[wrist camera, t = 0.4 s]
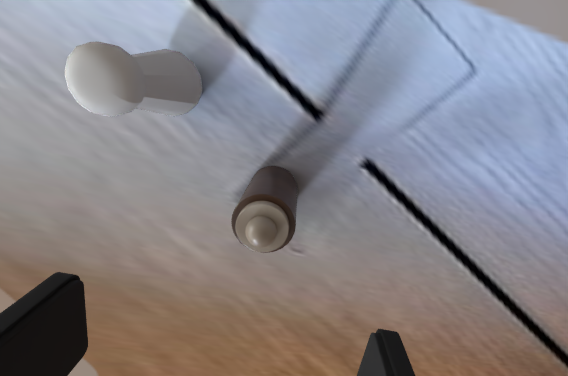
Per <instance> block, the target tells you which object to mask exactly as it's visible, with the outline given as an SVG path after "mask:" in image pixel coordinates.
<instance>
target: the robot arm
mask: <svg viewBox="0 0 568 376" xmlns="http://www.w3.org/2000/svg"><path fill="white" fill-rule="evenodd" d="M87 347H88V337H87V323H86V310H85V296H84V284H83V282H82V281H80V278H79V276H77V275H73V274H67V273H61V272H57V273H55V274H53V275H52V276H50V277H49V278H47V279H46V280H45V281H43V282H42V283H41V284H39V285H38V286H37V287H35V288H34V289H33V290H31V291H30V292H29V293H27V294H26V295H24V296H23V297H22V298H20V299H19V300H18V301H16V302H15V303H14V304H12V305H11V306H10V307H8V308H7V309H5V310H4V311H3V312H2V313H0V376H67V375H68V374H69V373H70V372H71V371H72V369H73V368H74V367H75V366H76V364H77V363H78V362H79V361H80V360H81V358H82V357H83V356H84V354H85V352H86V350H87ZM357 376H415V374H414V371H413V369H412V366H411V364H410V361H409V359H408V356H407V353H406V351H405V348H404V346H403V343H402V341H401V338H400V336H399V334H398V333H397V332H394V331H389V330H383V329H378V330H377V332H376V333H371V335H370V338H369V341H368V344H367V347H366V350H365V353H364V356H363V359H362V362H361V365H360V368H359V371H358V374H357Z"/></svg>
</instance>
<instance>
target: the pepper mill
mask: <svg viewBox="0 0 568 376" xmlns="http://www.w3.org/2000/svg"><path fill="white" fill-rule="evenodd" d="M296 208H297V183H296V180H295V178H294V177H293V175H292V174H291V173H290V172H289V171H287V170H286V169H284V168H281V167H277V166H269V167H265V168H263V169H261V170H259V171H258V172H257V173H256V174H255V175H254V176H253V178H252V180H251V182H250V183H249V185H248V187H247V189H246V190H245V192H244V194H243V196H242V197H241V199H240V201H239V202H238V204H237V206H236V208H235V210H234V212H233V214H232V221H231V222H232V229H233V232H234V234H235V236H236V238H237V239H238V240H239V242H240V243H241V244H243V245H244V246H245V247H247V248H249V249H251V250H253V251H256V252H262V253H268V252H274V251H277V250H279V249H281V248H283V247H284V246H285V245H287V244H288V243H289V241H290V240H291V239H292V237H293V235H294V232H295V226H296Z"/></svg>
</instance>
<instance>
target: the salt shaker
mask: <svg viewBox="0 0 568 376" xmlns="http://www.w3.org/2000/svg"><path fill="white" fill-rule="evenodd" d="M64 73H65V77H66V81H67V85H68V89H69V91H70V92H71V94H72V95H73V97H74V98H75V100H76V101H77V103H78V104H80V105H81V106H83V107H84V108H85V109H87V110H88V111H90V112H91V113H95V114H100V115H104V116H110V117H115V116H119V115H122V114H126V113H129V112H132V111H133V110H134V109H135V108H136V109H141V110H145V111H150V112H154V113H159V114H164V115H168V116H173V117H175V116H179V115H182V114H186V113H188V112H189V111H190V110H191V109H193V108H194V107H195V106H196V105H197V104H198V102H199V99H200V96H201V93H202V83H201V75H200V74H199V72H198V70H197V68H196V66H195V65H194V63H193V62H192V61H191V60H189V59H188V58H187V57H185V56H184V55H183V54H182V53H180V52H177V51H173V50H168V49H162V50H157V51H151V52H145V53H140V54H134V55H130V54H129V53H127V52H126V51H125V50H123V49H122V48H121V47H119V46H116V45H112V44H107V43H102V42H89V43H86V44H82V45H79V46H76V48H75V49H74V50H73V51H72V53H71V54H70V55H69V56H68V57H67V62H66V67H65V72H64Z"/></svg>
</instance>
